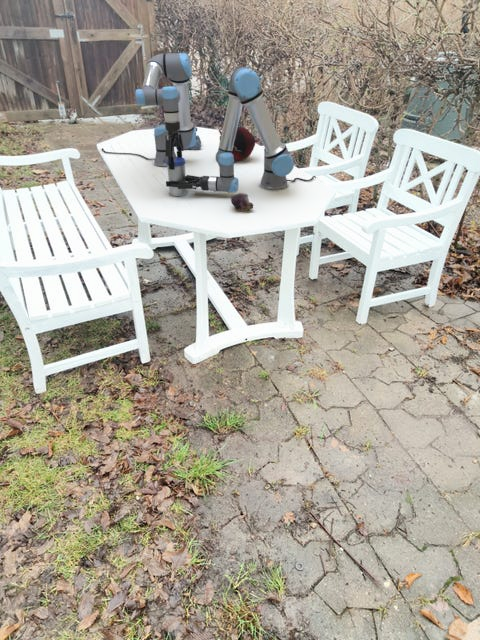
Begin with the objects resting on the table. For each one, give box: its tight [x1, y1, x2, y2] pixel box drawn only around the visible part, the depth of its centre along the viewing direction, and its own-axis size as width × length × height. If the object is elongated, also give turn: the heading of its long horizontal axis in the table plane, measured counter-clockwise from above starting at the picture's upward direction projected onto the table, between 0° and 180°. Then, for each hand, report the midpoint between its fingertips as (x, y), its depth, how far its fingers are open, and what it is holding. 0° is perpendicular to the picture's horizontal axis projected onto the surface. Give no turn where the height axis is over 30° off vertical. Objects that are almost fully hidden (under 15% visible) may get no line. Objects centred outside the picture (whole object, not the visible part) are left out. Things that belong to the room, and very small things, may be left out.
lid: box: [166, 156, 186, 166], centre depth 236 cm, size 10×10×2 cm
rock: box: [230, 192, 254, 211], centre depth 223 cm, size 12×9×10 cm
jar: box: [166, 163, 188, 197], centre depth 241 cm, size 9×9×18 cm
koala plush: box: [184, 120, 202, 151], centre depth 323 cm, size 17×18×20 cm
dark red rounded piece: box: [218, 126, 257, 162], centre depth 296 cm, size 21×24×25 cm
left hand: (176, 166), depth 238 cm, fingers closed on lid, 10 cm apart
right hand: (169, 180), depth 243 cm, fingers closed on jar, 9 cm apart
